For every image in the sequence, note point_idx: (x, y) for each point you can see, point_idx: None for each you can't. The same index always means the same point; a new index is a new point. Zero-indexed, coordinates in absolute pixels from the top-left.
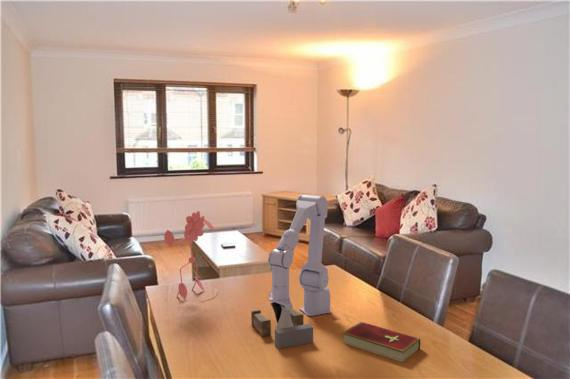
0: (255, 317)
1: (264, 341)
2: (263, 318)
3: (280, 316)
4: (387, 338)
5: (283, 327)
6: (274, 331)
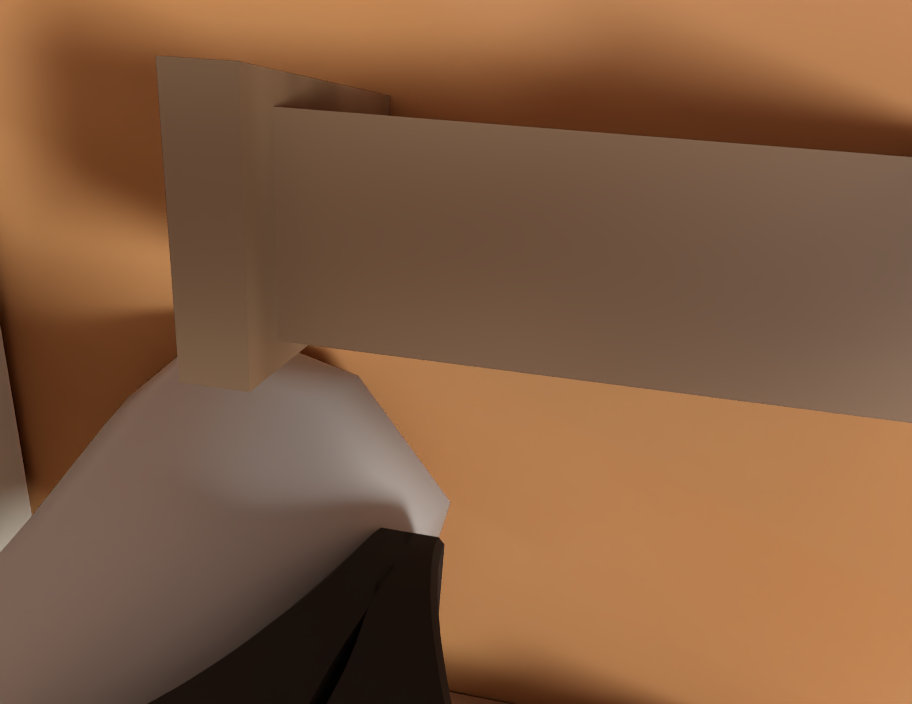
0: (893, 156)
1: (137, 47)
2: (540, 302)
3: (50, 662)
4: None
5: (52, 494)
6: (351, 375)
